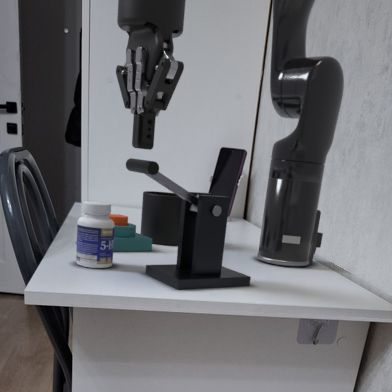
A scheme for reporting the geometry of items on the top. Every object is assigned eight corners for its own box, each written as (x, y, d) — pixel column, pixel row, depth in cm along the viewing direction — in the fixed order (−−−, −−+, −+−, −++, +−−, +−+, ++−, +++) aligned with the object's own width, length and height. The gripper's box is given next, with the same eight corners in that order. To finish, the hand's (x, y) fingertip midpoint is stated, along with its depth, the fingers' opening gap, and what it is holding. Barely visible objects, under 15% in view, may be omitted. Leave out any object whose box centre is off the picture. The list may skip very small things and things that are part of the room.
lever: (144, 174, 64) (153, 155, 64) (122, 170, 69) (130, 152, 69) (220, 223, 73) (228, 207, 73) (196, 217, 77) (203, 201, 77)
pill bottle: (105, 270, 77) (108, 206, 74) (70, 265, 78) (71, 201, 75) (117, 264, 82) (120, 203, 79) (84, 259, 83) (86, 199, 80)
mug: (165, 235, 116) (168, 191, 113) (196, 245, 107) (201, 198, 104) (125, 234, 111) (128, 188, 108) (155, 245, 101) (158, 195, 98)
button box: (131, 242, 102) (132, 221, 101) (151, 251, 96) (153, 228, 94) (80, 242, 97) (81, 219, 95) (98, 251, 90) (99, 227, 89)
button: (122, 224, 97) (122, 214, 97) (131, 227, 95) (131, 217, 94) (103, 224, 95) (103, 213, 95) (112, 227, 93) (112, 216, 92)
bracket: (177, 289, 71) (186, 196, 67) (145, 273, 78) (151, 188, 74) (249, 285, 77) (261, 200, 73) (213, 271, 84) (222, 192, 80)
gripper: (214, -18, 58) (197, 154, 63) (154, 2, 68) (144, 149, 74) (151, -39, 54) (139, 148, 59) (98, -14, 64) (92, 143, 70)
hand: (142, 148), depth 66 cm, fingers closed
